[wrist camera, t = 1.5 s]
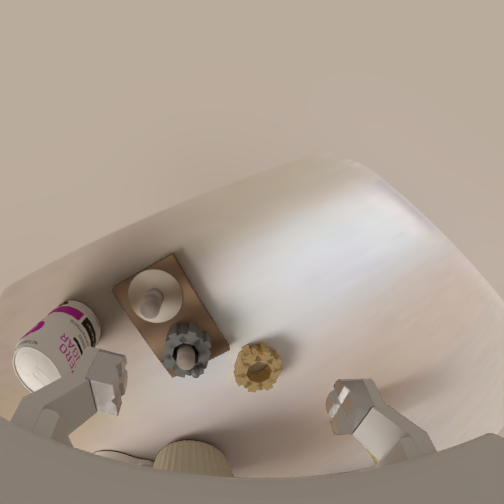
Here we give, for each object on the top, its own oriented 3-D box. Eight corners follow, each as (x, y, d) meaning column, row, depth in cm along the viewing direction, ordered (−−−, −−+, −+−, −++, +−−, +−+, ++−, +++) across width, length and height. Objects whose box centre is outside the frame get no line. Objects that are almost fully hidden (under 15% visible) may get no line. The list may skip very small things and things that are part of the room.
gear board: (229, 345, 44) (233, 367, 38) (173, 372, 43) (170, 396, 37) (173, 252, 40) (168, 262, 34) (114, 286, 40) (100, 301, 33)
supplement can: (47, 321, 39) (0, 366, 24) (73, 288, 39) (25, 327, 24) (83, 357, 41) (49, 413, 26) (112, 326, 41) (79, 381, 26)
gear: (221, 353, 42) (224, 369, 38) (179, 373, 42) (177, 391, 37) (195, 313, 41) (195, 327, 36) (151, 336, 40) (147, 351, 36)
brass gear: (285, 368, 46) (290, 377, 43) (245, 388, 46) (248, 399, 43) (266, 334, 45) (270, 343, 42) (223, 356, 44) (225, 366, 41)
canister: (130, 459, 45) (117, 543, 25) (174, 411, 45) (169, 511, 24) (205, 489, 50) (214, 566, 29) (257, 448, 49) (282, 534, 29)
